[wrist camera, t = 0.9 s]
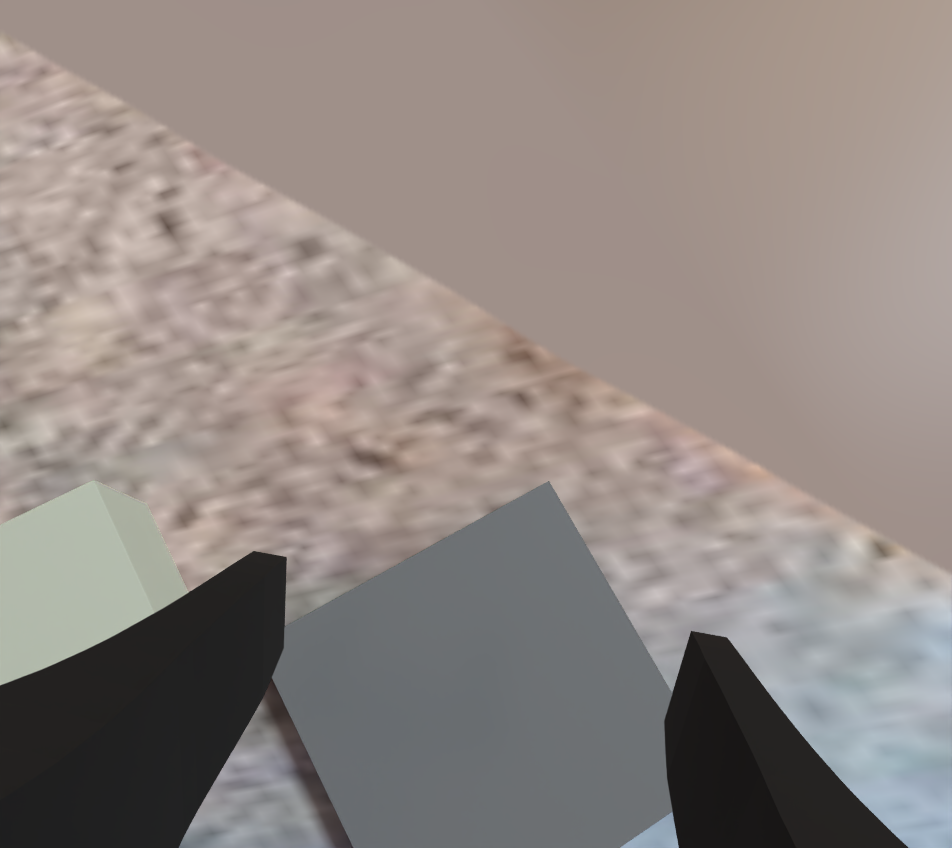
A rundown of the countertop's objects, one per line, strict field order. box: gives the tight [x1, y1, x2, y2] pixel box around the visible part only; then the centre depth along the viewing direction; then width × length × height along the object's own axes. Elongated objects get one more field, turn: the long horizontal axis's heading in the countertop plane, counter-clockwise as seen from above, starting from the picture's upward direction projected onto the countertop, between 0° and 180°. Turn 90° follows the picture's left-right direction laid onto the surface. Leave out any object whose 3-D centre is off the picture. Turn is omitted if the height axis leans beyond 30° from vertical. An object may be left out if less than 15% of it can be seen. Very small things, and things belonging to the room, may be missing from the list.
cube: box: [0, 480, 189, 685], centre depth 24 cm, size 5×5×5 cm
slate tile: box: [272, 481, 672, 848], centre depth 26 cm, size 12×12×1 cm
